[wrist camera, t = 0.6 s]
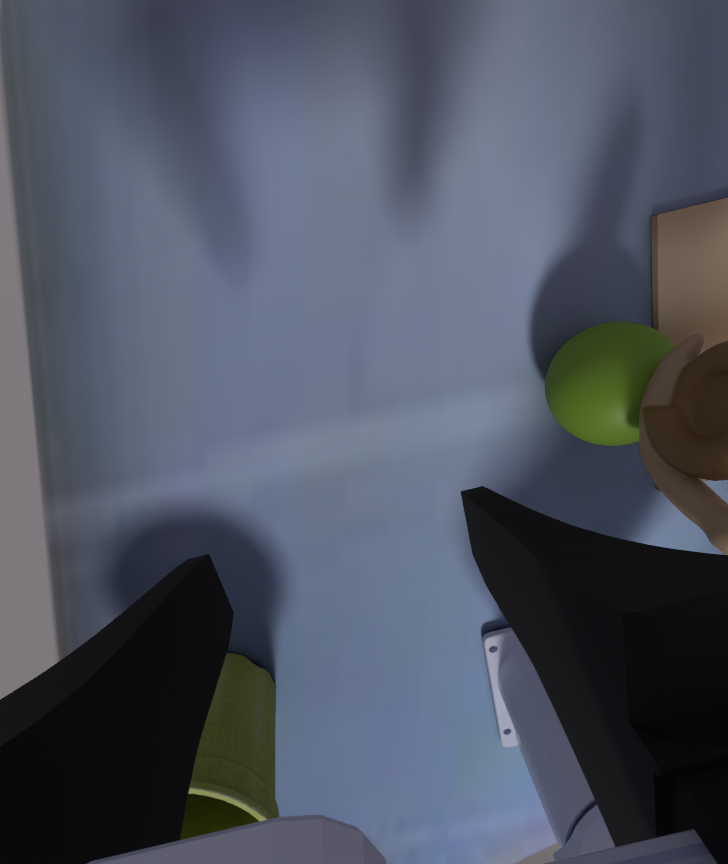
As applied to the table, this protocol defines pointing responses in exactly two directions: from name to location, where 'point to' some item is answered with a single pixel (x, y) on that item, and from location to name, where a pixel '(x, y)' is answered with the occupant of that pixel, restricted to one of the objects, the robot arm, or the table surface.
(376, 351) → the table surface
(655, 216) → the cork mat
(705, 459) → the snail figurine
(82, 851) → the robot arm
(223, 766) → the plant pot
